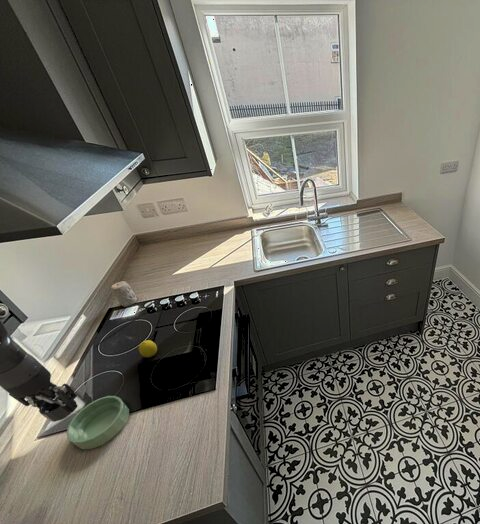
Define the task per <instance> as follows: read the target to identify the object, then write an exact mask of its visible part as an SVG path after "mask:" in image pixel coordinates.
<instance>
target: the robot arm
mask: <svg viewBox="0 0 480 524" xmlns="http://www.w3.org/2000/svg"><path fill="white" fill-rule="evenodd" d="M0 342H1V344H0V387H1V388H2V389H3V390H4V391H5V392H7V393H8V395H9V396H10V397H11V398H13V399H14V400H15V401H17V402H19V403H21V404H22V405H23V406H24V407H29V406H31V407H32V408H37V409H38V410H39V409H40V406H41V405H42V404H43V403H44V402H45V401H47V402H49V403H51V404H54V403H56V404H59V405H61V406H62V407H63V408H64V409H65V410H66V411H67V412H69V413H71V414H73V413H74V412H75V411H76V409H77V408H78V403H77V402H76V403H75V402H74V401H73V400H76V398H77V397H78V395H77V393H76V392H75V391H74V390H73V388H71V386H70V385H69V384H68V383H63V384H62V385H61V386H60V385H59V386H57V384H55V383H53V382H52V381H51V377H52V374H51V372H50V370H48V369H47V368H46V366H44V365H43V364H42V363H41V362H39V361H38V359H36V358H35V357H34V356H33V355H32V354H30V353H29V352H27V351H26V350H25V349H24V348H23V347H22V346H20V345H19V344H18V343H17V342H16V341H15V340H14V339H13V337H12V336H11V333H10V332H9V330H8V329H7V328H6V325H5V324H4V323H3V321H2V320H1V319H0ZM55 394H57V395H56V397H55V398H54V399H51V398H52V397H53V396H54V395H55ZM59 398H61V399H62V401H60V400H59Z"/></svg>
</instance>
